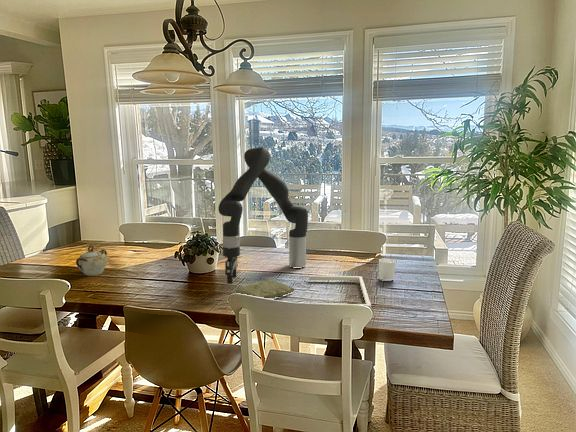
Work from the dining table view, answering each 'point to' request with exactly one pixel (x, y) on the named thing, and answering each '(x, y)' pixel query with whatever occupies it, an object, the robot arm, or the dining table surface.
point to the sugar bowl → (92, 262)
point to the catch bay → (365, 295)
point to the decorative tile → (266, 289)
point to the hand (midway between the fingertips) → (231, 280)
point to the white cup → (386, 268)
